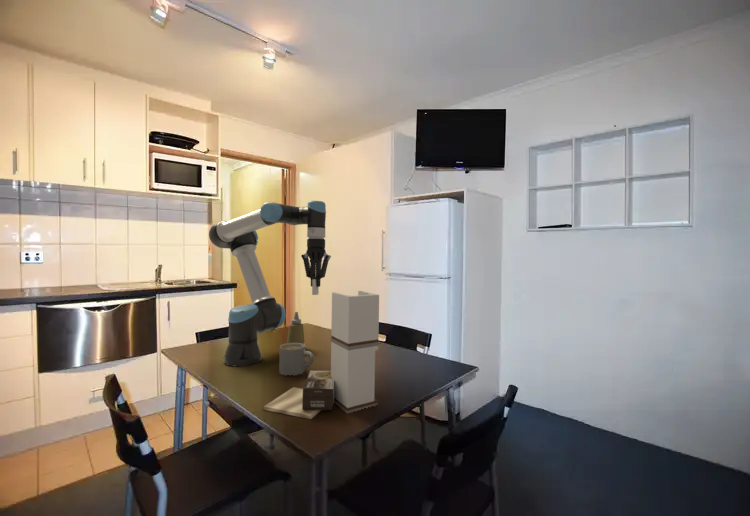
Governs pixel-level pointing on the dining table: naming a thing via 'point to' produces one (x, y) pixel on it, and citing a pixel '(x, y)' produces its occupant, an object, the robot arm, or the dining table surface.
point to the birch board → (291, 404)
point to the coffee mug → (293, 359)
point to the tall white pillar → (354, 349)
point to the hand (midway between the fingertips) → (315, 294)
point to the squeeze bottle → (296, 330)
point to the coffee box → (318, 391)
